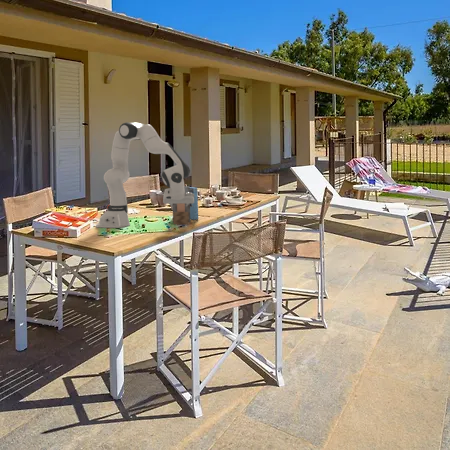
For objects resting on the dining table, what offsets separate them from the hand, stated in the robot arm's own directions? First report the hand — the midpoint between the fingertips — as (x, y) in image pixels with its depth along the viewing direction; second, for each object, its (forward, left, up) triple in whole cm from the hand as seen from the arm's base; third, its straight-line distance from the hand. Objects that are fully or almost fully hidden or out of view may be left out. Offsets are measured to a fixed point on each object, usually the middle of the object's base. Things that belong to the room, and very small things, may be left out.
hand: (179, 205), depth 333 cm
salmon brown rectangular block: (0, +12, -8) cm, 14 cm away
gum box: (+3, +32, -14) cm, 35 cm away
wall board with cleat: (+1, +11, -14) cm, 18 cm away
